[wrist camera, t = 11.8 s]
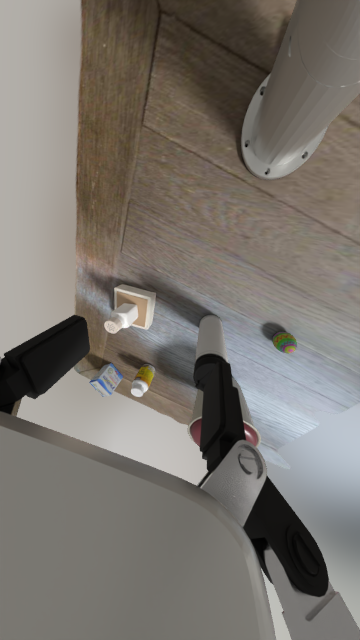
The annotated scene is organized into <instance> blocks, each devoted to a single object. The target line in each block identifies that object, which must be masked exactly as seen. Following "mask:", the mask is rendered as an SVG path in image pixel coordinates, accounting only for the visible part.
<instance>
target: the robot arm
mask: <svg viewBox="0 0 360 640" xmlns="http://www.w3.org/2000/svg"><path fill="white" fill-rule="evenodd" d="M359 93H360V0H297V2H296V4H295V7H294V10H293V13H292V16H291V18H290V21H289V24H288V27H287V30H286V32H285V35H284V38H283V41H282V44H281V46H280V49H279V52H278V55H277V58H276V60H275V63H274V66H273V69H272V72H271V73H270V74H269V75H268V76H267V77H266V79H265V80H264V81H263V82H262V83H261V85H260V86H259V88H258V89H257V91H256V93H255V94H254V96H253V98H252V100H251V102H250V104H249V107H248V110H247V113H246V115H245V119H244V123H243V126H242V133H241V151H242V157H243V160H244V163H245V165H246V166H247V168H248V170H249V171H250V172H251V173H252V174H253V175H255V176H256V177H258V178H260V179H264V180H275V179H280V178H282V177H284V176H287V175H289V174H290V173H292V172H293V171H295V170H296V169H297V168H299V167H300V166H301V165H302V164H303V163H304V162H305V161H306V160H307V159H308V158H309V157H310V156H311V155H312V153H313V152H314V151H315V150H316V148H317V147H318V145H319V143H320V142H321V140H322V139H323V136H324V134H325V132H326V130H327V128H328V125H329V124H330V123H331V122H332V121H333V120H334V119H335V118H336V117H337V116H338V115H339V114H340V113H341V112H342V111H343V110H344V109H345V108H346V107H347V106H348V105H349V104H350V103H351V101H352V100H353V99H354V98H355V97H356V96H357V95H358V94H359ZM260 94H262V95H263V96H261V95H260ZM245 145H247V146H248V147H245ZM302 156H303V159H302ZM265 172H267V175H265ZM89 351H90V345H89V337H88V329H87V322H86V320H85V318H83V317H80V316H77V315H73V316H71V317H69V318H68V319H66V320H64V321H62V322H60V323H59V324H57V325H55V326H53V327H51V328H50V329H48V330H46V331H44V332H42V333H41V334H39V335H37V336H35V337H33V338H32V339H30V340H28V341H26V342H24V343H22V344H21V345H19V346H17V347H15V348H13V349H12V350H10V351H8V352H6V353H5V354H4V356H5V357H4V358H3V359H1V357H0V640H276V637H275V631H274V625H273V621H272V615H271V610H270V605H269V600H268V595H267V591H266V587H265V582H264V578H263V575H262V571H261V568H262V570H263V572H264V573H265V575H266V576H267V578H268V579H269V581H270V582H271V583H272V584H273V585H274V587H275V590H276V592H277V595H278V597H279V600H280V603H281V605H282V608H283V610H284V611H283V612H282V614H283V617H284V620H285V622H286V625H287V627H288V630H289V633H290V636H291V639H292V640H360V630H359V628H358V626H357V624H356V622H355V621H354V619H353V617H352V615H351V613H350V612H349V610H348V608H347V606H346V604H345V602H344V601H343V599H342V597H341V595H340V593H339V592H335V591H334V589H333V587H332V585H331V584H330V582H329V578H328V573H327V568H326V564H325V562H324V558H323V556H322V553H321V551H320V549H319V547H318V545H317V543H316V542H315V540H314V538H313V537H312V535H311V534H310V532H309V531H308V530H307V528H306V527H305V526H304V524H303V523H302V522H301V520H300V519H299V518H298V516H297V515H296V514H295V512H294V511H293V510H292V508H291V507H290V506H289V504H288V503H287V502H286V500H285V499H284V498H283V496H282V495H281V494H280V492H279V491H278V490H277V488H276V487H275V486H274V484H273V483H272V482H271V480H270V479H269V478H268V476H267V468H266V464H265V461H264V459H263V457H262V455H261V453H260V452H259V450H258V449H257V448H256V447H255V446H254V445H253V444H252V443H250V442H248V441H246V435H245V429H244V423H243V417H242V410H241V404H240V398H239V392H238V389H237V388H236V387H234V386H233V382H232V374H231V367H230V363H226V362H223V361H220V363H219V362H217V363H216V365H215V367H214V369H213V371H212V373H211V375H210V377H209V379H208V381H207V383H206V385H205V387H204V391H203V405H202V420H201V435H200V451H201V452H203V454H202V458H203V459H205V460H207V470H208V472H207V473H206V474H205V476H204V477H203V478H202V479H201V481H200V482H199V483H198V484H197V486H196V485H194V484H192V483H189V482H188V481H185V480H183V479H181V478H178V477H176V476H174V475H171V474H169V473H166V472H164V471H161V470H158V469H156V468H154V467H151V466H149V465H146V464H143V463H140V462H138V461H135V460H132V459H130V458H127V457H124V456H121V455H119V454H116V453H113V452H111V451H108V450H106V449H103V448H100V447H97V446H95V445H92V444H89V443H87V442H84V441H81V440H78V439H76V438H73V437H70V436H67V435H65V434H62V433H59V432H57V431H54V430H51V429H48V428H45V427H42V426H40V425H37V424H34V423H32V422H29V421H26V420H23V419H21V418H18V417H16V415H17V412H18V409H19V406H20V403H21V399H22V397H24V396H25V395H27V396H28V397H31V398H33V399H36V398H37V397H38V396H39V395H41V394H44V393H45V392H46V391H47V390H48V389H49V388H51V387H52V386H53V385H54V384H55V383H56V382H57V381H58V380H59V379H60V378H61V377H63V376H64V375H65V374H66V373H67V372H68V371H69V370H70V369H71V368H72V367H73V366H75V365H76V364H77V363H78V362H79V361H80V360H81V359H82V358H83V357H84V356H85V355H87V354H88V352H89ZM260 566H261V567H260Z"/></svg>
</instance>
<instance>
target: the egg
mask: <svg viewBox="0 0 360 640" xmlns="http://www.w3.org/2000/svg"><path fill="white" fill-rule="evenodd" d="M273 344H274V346H275V347H276V348H277V349H278V350H279V351H281V352H283V353H292V352H294V351H295V350H296V347H297V342H296V340H295V338H294V337H293V336H292V335H291V334H290V333H287V332H278V333H276V334H275V335H274V336H273Z"/></svg>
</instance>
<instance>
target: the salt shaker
mask: <svg viewBox="0 0 360 640" xmlns="http://www.w3.org/2000/svg"><path fill="white" fill-rule="evenodd" d="M137 318H138V308H137V305H136V304H127V303H124V304H122V305H121V306H119V307H118V308H116V309H115V310H114V311H112V313H111V318H110V319H109V320H107V321H106V322H105V324H104V327H105V329H106V330H107V331H108V332H110V333H116V332H118V331H119V330H120V329H121V328H127V327H129V326H130V325H131V324H132V323H133V322H134V321H135V320H136V319H137Z"/></svg>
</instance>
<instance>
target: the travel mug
mask: <svg viewBox="0 0 360 640" xmlns="http://www.w3.org/2000/svg"><path fill="white" fill-rule="evenodd" d="M220 361H223V362H226V363H228V358H227V352H226V345H225V339H224V332H223V326H222V321H221V319H220V318H219V317H218V316H216V315H206V316H204V317H203V318H202V319H201V321H200V326H199V334H198V342H197V350H196V358H195V368H194V381H195V383H196V388H198V389H199V390H201V391H204V387H205V385H206V383H207V381H208V379H209V377H210V375H211V373H212V371H213V369H214V367H215V365H216V363H217V362H219V363H220Z"/></svg>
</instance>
